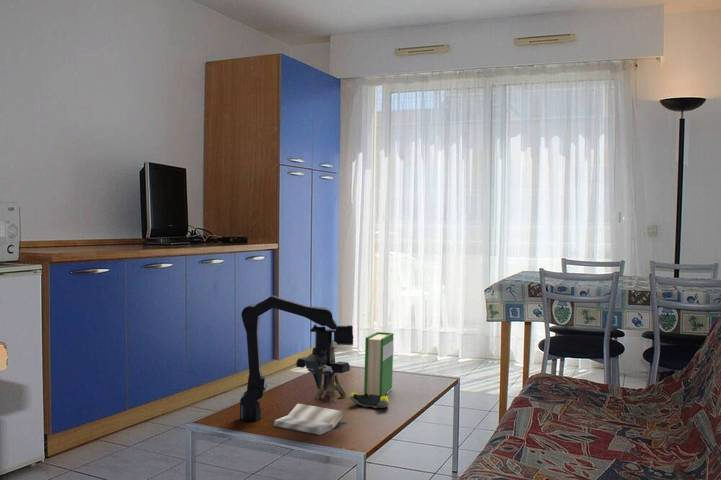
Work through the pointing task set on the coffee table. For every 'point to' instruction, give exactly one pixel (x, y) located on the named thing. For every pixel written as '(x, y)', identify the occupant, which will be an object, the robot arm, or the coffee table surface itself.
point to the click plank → (316, 414)
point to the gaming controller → (370, 400)
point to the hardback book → (378, 363)
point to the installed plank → (303, 425)
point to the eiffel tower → (332, 385)
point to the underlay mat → (327, 431)
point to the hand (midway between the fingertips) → (322, 389)
